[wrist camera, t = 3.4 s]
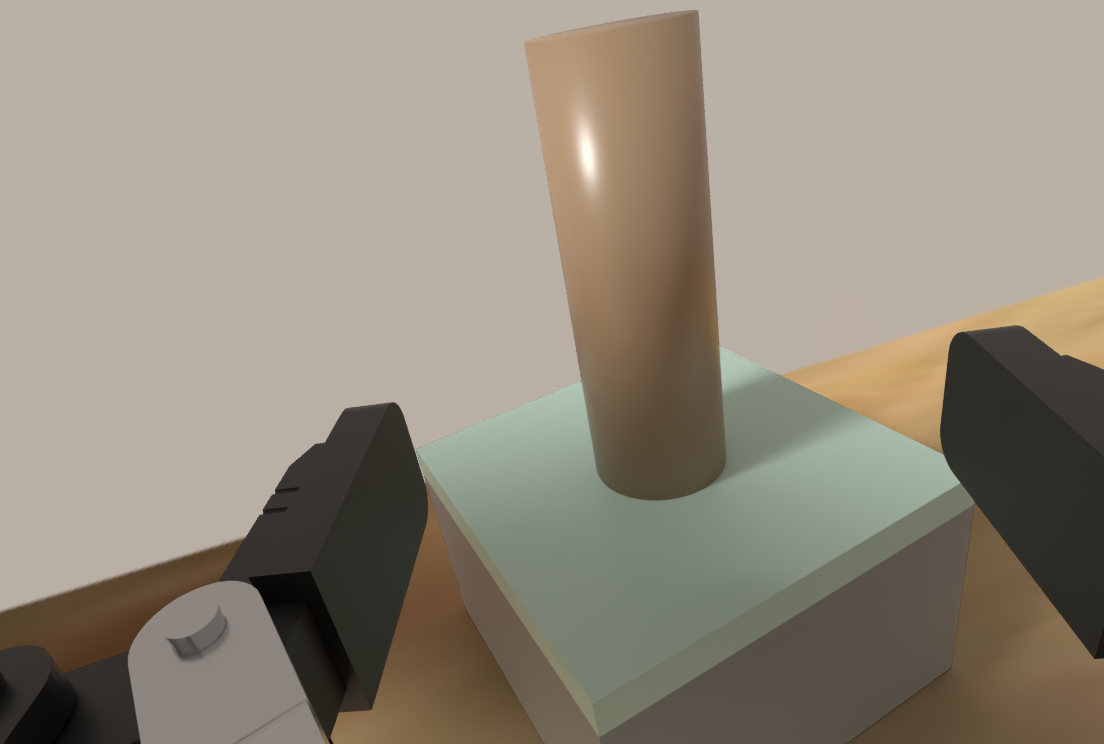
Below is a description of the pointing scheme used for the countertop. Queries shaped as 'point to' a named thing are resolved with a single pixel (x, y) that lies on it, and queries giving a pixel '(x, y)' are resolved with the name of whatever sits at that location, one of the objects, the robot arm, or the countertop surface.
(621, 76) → the peg on green base
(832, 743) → the storage box
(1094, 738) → the countertop surface
